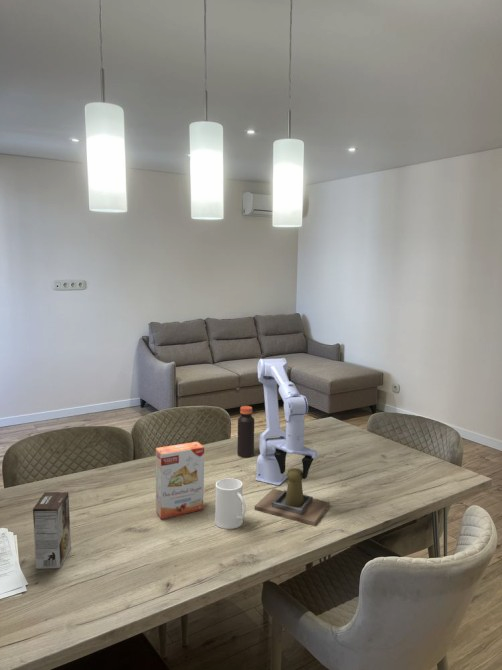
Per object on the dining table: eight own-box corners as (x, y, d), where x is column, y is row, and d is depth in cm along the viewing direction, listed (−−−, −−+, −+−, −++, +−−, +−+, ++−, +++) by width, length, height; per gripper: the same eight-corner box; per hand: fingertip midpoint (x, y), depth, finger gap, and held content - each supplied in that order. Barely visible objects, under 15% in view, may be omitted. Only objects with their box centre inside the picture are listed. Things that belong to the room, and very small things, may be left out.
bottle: (253, 458, 192) (254, 410, 189) (237, 457, 192) (237, 409, 189) (253, 451, 198) (254, 405, 196) (237, 451, 199) (238, 405, 196)
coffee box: (47, 548, 127) (44, 491, 125) (71, 547, 128) (69, 491, 126) (34, 569, 118) (31, 508, 116) (61, 568, 119) (58, 507, 117)
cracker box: (161, 520, 142) (160, 453, 140) (155, 511, 148) (154, 447, 145) (204, 510, 149) (204, 446, 146) (197, 502, 154) (197, 440, 152)
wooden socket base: (254, 509, 150) (254, 501, 149) (273, 491, 162) (273, 484, 162) (314, 525, 141) (314, 517, 140) (329, 505, 153) (329, 497, 153)
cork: (301, 508, 148) (302, 475, 147) (282, 505, 150) (283, 472, 149) (305, 500, 154) (306, 467, 152) (287, 496, 156) (288, 465, 154)
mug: (254, 528, 139) (255, 489, 137) (230, 537, 134) (230, 497, 132) (232, 511, 148) (233, 475, 147) (209, 519, 143) (209, 481, 142)
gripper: (268, 434, 149) (267, 475, 151) (312, 442, 143) (310, 485, 145) (278, 427, 156) (277, 467, 157) (320, 435, 149) (318, 476, 151)
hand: (293, 475), depth 151 cm, fingers open, 7 cm apart
